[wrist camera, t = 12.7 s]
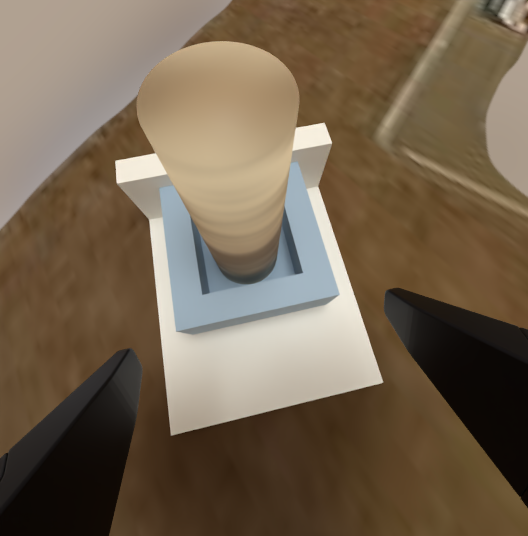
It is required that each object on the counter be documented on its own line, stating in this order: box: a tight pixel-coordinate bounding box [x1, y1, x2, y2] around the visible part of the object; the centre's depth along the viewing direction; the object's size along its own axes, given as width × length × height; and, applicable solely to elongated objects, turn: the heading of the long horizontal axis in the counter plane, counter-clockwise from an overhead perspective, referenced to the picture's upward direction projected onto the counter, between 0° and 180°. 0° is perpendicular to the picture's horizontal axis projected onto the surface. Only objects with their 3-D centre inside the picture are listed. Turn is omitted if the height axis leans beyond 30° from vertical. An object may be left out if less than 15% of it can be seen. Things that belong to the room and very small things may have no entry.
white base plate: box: [116, 123, 383, 436], centre depth 19 cm, size 20×16×6 cm
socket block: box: [159, 161, 340, 335], centre depth 20 cm, size 11×11×4 cm
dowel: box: [137, 41, 299, 284], centre depth 15 cm, size 5×5×14 cm
